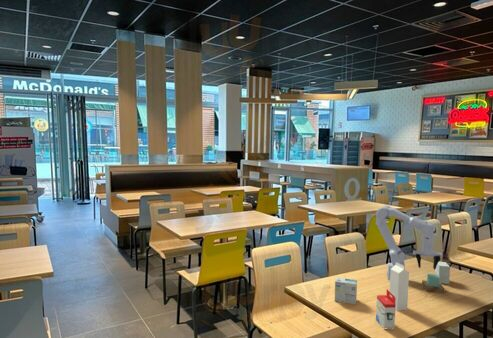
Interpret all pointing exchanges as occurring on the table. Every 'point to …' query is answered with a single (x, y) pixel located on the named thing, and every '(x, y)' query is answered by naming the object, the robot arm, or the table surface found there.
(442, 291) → the walnut slab
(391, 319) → the ink box
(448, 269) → the small box
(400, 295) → the milk
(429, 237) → the robot arm
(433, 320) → the table surface
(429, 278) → the teal block
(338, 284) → the light bulb box
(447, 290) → the table surface
